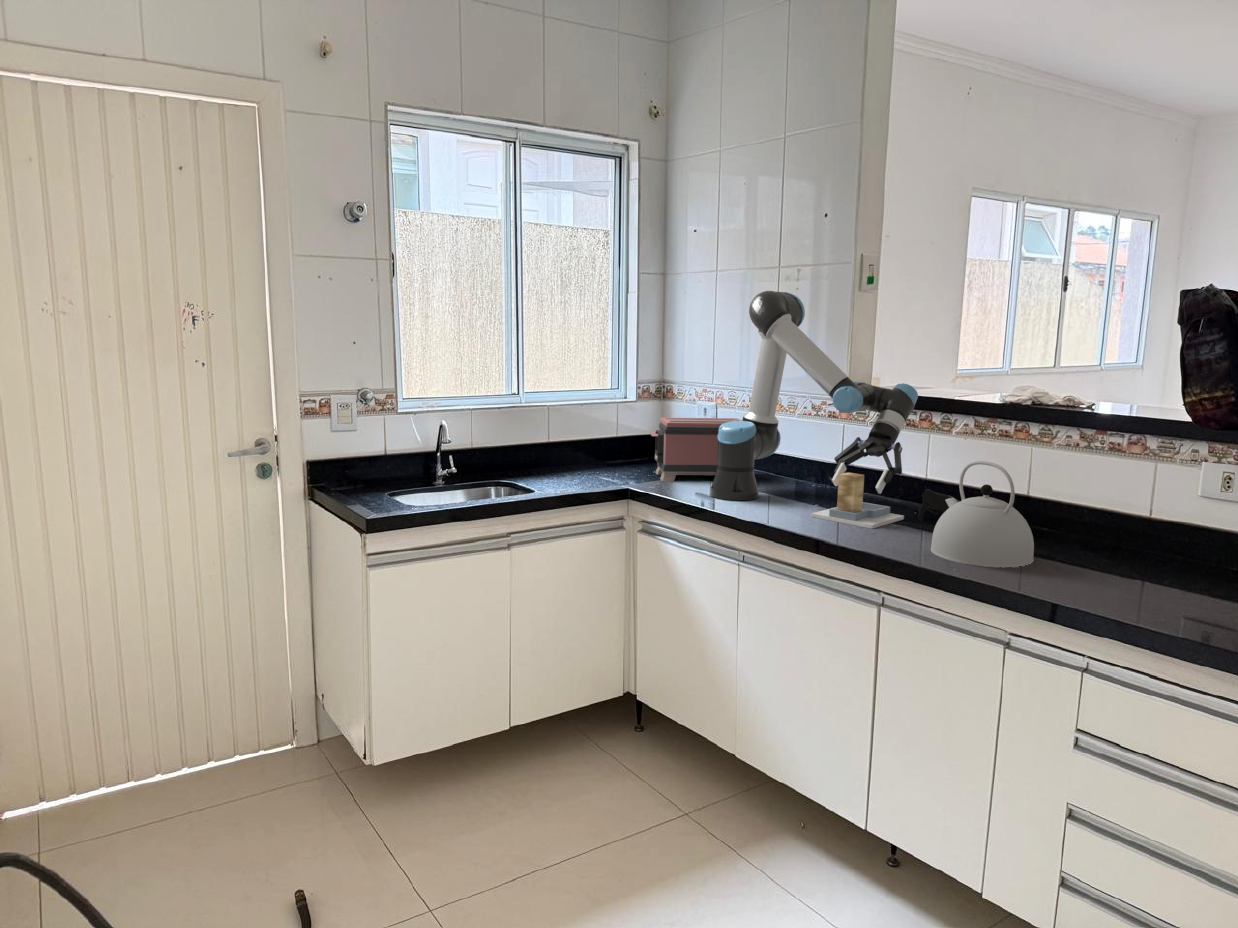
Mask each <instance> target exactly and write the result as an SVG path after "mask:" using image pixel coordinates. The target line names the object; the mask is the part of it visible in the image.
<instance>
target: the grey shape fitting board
mask: <svg viewBox="0 0 1238 928" xmlns="http://www.w3.org/2000/svg"><path fill="white" fill-rule="evenodd" d="M810 517H811V518H816V519H820V520H826V521H831V522H836V523H840V524H841V523H842V524H846V525H851V526H856V527H860V528H861V527H862V528H866V529H867V528H868V529H875V528H879V527H882V526H886V525H889V524H893V523H896V522H899V521H903V520H904V519H905V515H903V514H902V515H901V514H897V513H896V514H895V513H891V506H888V505H881V504H875V503H870V502H864V501H863V504H862V511H860V512H856V513H851V512H846V511H840V510H837V506H836V507H831V508H827V509H823V510H819V511H816V512H811V514H810Z"/></svg>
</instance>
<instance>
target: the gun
mask: <svg viewBox="0 0 1238 928" xmlns="http://www.w3.org/2000/svg"><path fill="white" fill-rule="evenodd" d="M921 498H922V500H923V501H922V503H921V504H920V507H919V509H918V520H919V521H920V522H924V515H925V512H926V511H928V512H930V513H931V514H933V515H940V514H941V513H942V514H943V513H944V512H945V511H946V510H948V509H949V506H948V504H947V502H946V501H945V500H946V499H949V498H954V499H955V500H956V501H957V502H960V500H959V499H957V498H955V497H954V496H951V495H947V494H945V493H939V492H935V491H933V490H932V489H929V488H926V489H924V490H923V492H922V493H921ZM929 507H930V508H929ZM933 508H934V509H936V512H935V511H934V510H933Z"/></svg>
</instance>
